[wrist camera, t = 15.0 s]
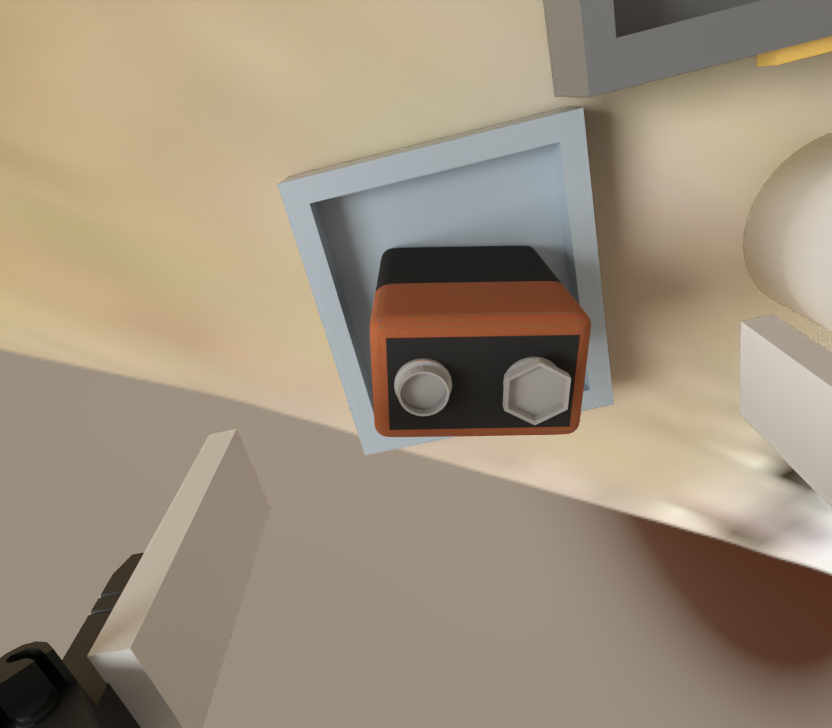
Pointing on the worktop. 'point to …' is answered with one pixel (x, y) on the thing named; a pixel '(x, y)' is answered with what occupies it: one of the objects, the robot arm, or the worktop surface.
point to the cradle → (674, 38)
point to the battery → (475, 344)
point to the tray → (448, 232)
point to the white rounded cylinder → (795, 234)
